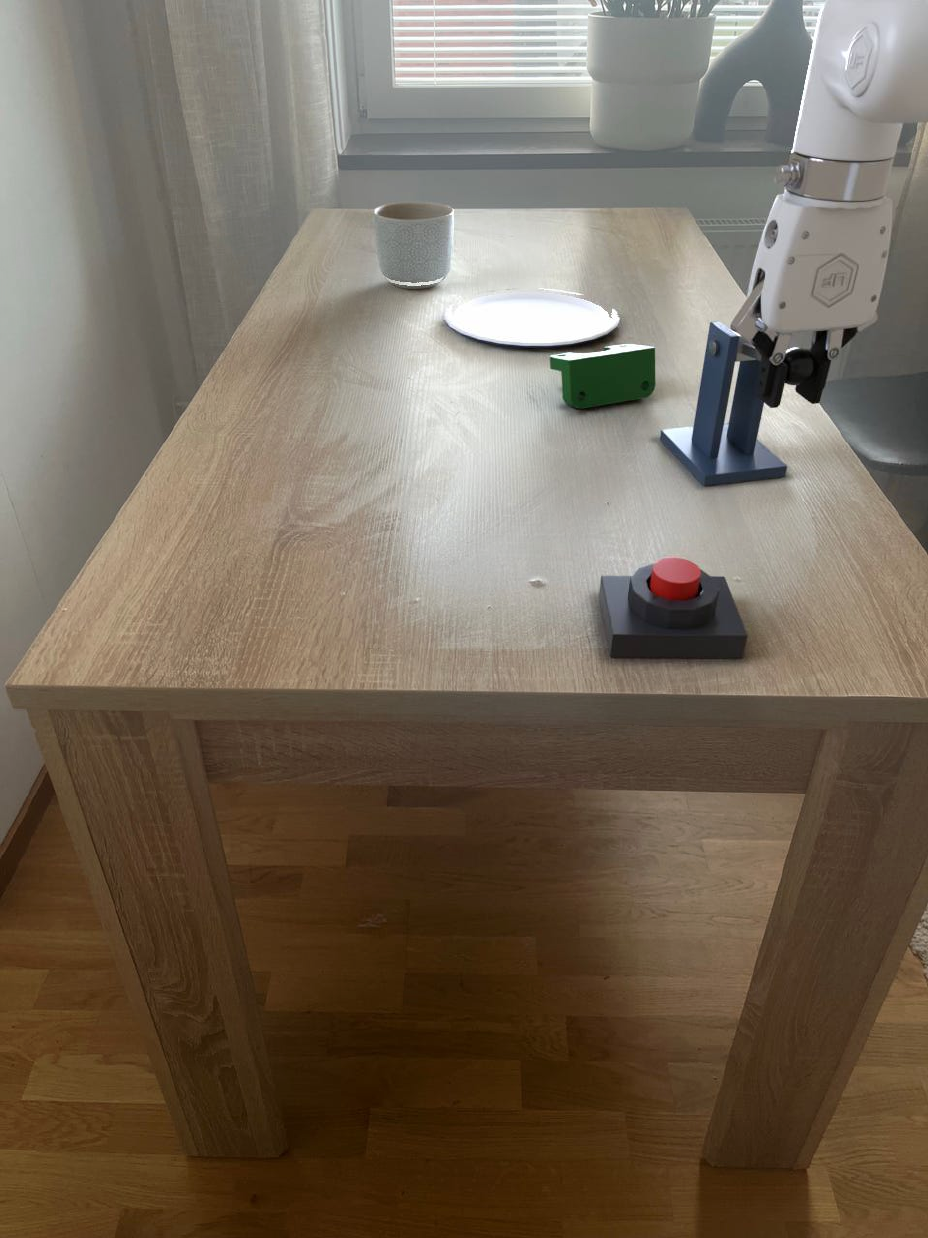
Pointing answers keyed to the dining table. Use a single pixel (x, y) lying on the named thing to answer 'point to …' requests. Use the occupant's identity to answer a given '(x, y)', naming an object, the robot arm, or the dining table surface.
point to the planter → (414, 241)
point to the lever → (795, 358)
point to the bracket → (713, 443)
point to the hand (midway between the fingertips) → (787, 397)
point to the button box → (670, 619)
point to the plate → (531, 319)
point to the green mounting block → (606, 375)
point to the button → (675, 579)
